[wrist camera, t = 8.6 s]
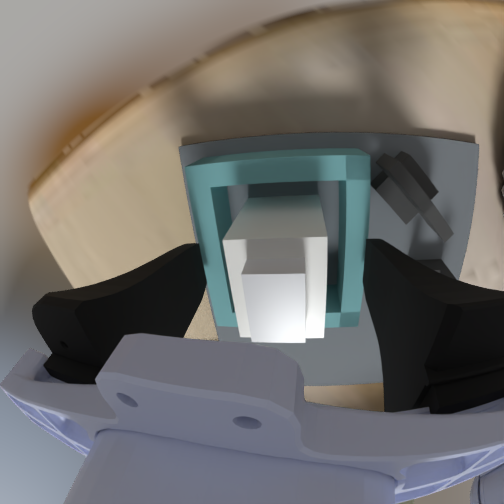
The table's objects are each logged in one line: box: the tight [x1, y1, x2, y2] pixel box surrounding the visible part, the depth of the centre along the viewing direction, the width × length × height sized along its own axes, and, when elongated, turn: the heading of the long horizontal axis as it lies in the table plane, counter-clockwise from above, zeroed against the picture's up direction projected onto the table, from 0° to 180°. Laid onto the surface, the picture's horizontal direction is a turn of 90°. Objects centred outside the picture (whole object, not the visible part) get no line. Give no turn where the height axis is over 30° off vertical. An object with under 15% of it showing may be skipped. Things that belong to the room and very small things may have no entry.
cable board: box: [179, 132, 479, 386], centre depth 14 cm, size 16×18×4 cm
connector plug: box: [222, 195, 327, 343], centre depth 12 cm, size 4×4×6 cm
